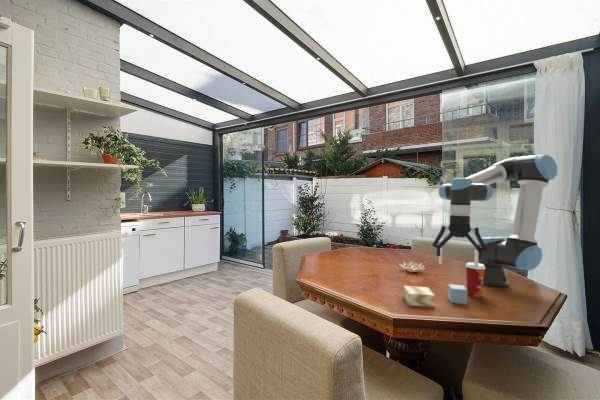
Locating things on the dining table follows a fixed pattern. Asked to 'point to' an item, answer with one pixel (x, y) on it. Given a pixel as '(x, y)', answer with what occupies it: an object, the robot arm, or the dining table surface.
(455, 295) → the slate cube
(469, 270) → the paper cup
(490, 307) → the dining table surface
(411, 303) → the maple block
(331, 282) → the dining table surface
